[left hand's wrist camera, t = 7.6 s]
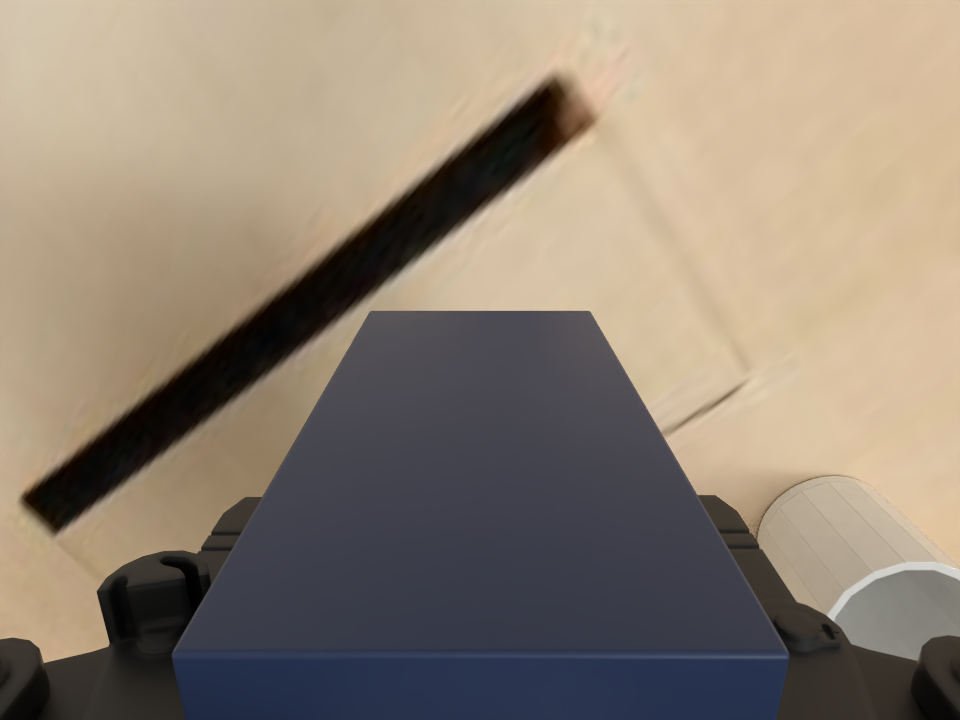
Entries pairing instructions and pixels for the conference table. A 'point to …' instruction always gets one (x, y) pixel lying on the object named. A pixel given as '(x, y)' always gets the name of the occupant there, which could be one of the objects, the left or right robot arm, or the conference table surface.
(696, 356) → the conference table surface
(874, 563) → the white cup
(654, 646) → the blue block
